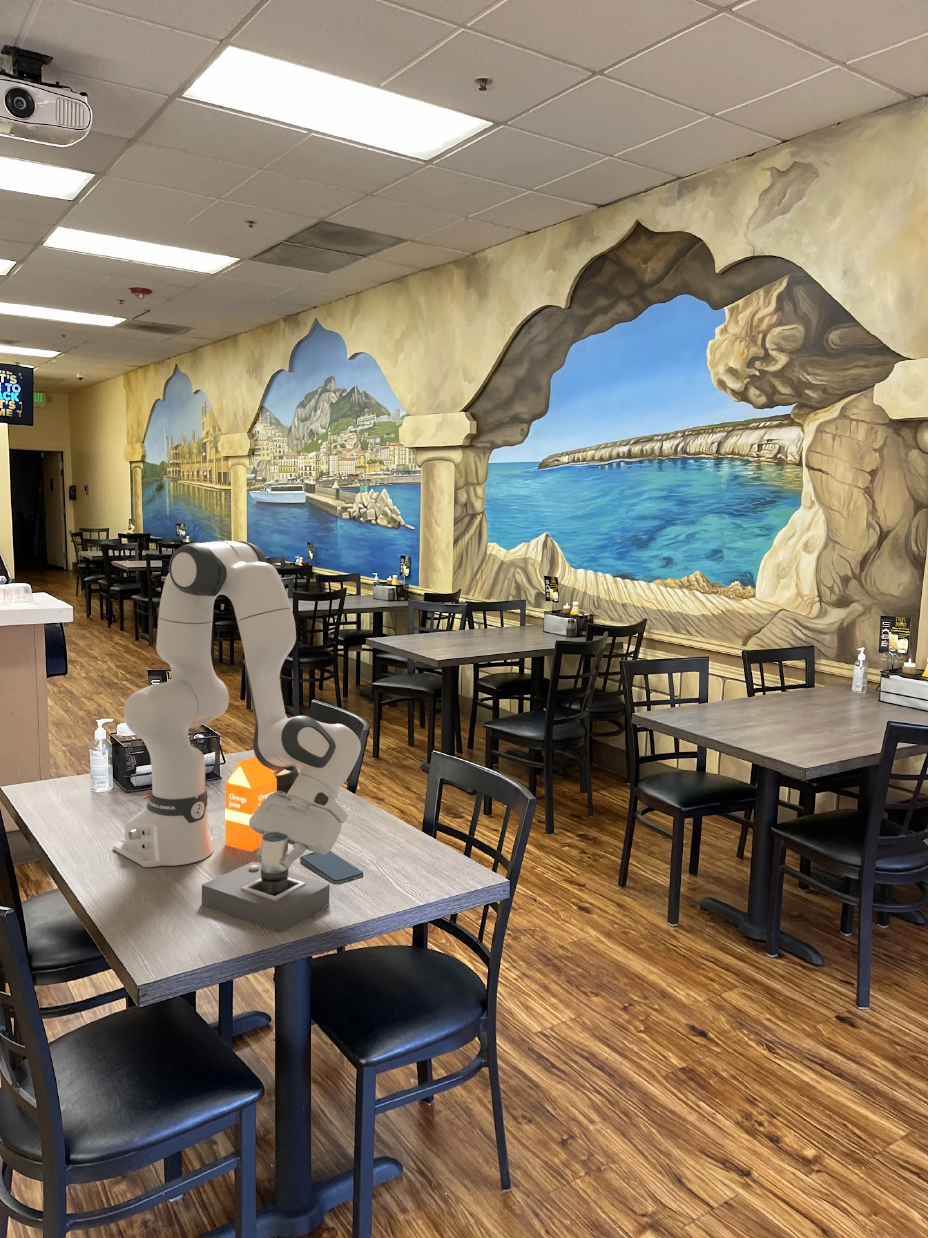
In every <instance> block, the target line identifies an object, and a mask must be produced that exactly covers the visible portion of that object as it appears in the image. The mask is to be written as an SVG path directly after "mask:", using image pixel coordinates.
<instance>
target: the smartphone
mask: <svg viewBox="0 0 928 1238" xmlns="http://www.w3.org/2000/svg"><path fill="white" fill-rule="evenodd" d="M299 859H300V860H299V861H300V863H301V864H303V865H305V866H306V867H307V868H309V869H310V870H312V871H313V872H315V873H316V874H318V875H319V876H321V877H322V878H324V879H326V880H327V881H328V882H330V883H332V884H334V883H336V884H335V885H337V883H339V884H343V883H346V882H349V880H350V881H352V880H351V879H353V880H355V879H354V878H357V877H360V876H362V875H363V876H364V872H363V871H362V870H360V869H359V868H357V867H356V866H355V865H353V864H351V863H350V862H349V861H346V860H345V859H344V858H342V857H340V856H339V855H338V854H336V853H334V852H333V851H331V850H330V851H329V852H328V853H326V854H325V855H322V854H319V853H316V852H313V851H312V852H310V853H307V854H303V855H301V856H300V857H299ZM360 878H361V877H360ZM357 879H358V878H357ZM345 881H346V882H345ZM342 882H343V883H342Z"/></svg>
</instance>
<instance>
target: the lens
mask: <svg viewBox="0 0 928 1238" xmlns="http://www.w3.org/2000/svg"><path fill="white" fill-rule="evenodd" d="M288 854H289V843H288V837H287V835H285V834H282V833H279V832H270V833H267V834H265V835H264V836H262V838H261V858H260V859H261V860H260V861H261V889H262V891H264V892H267V893H279V892H282V891H285V890H286V889H287V888H288V872H289V868H287V867H284V866H282V865H281V864H280V860H281V859H282V857H283V855H288Z"/></svg>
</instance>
